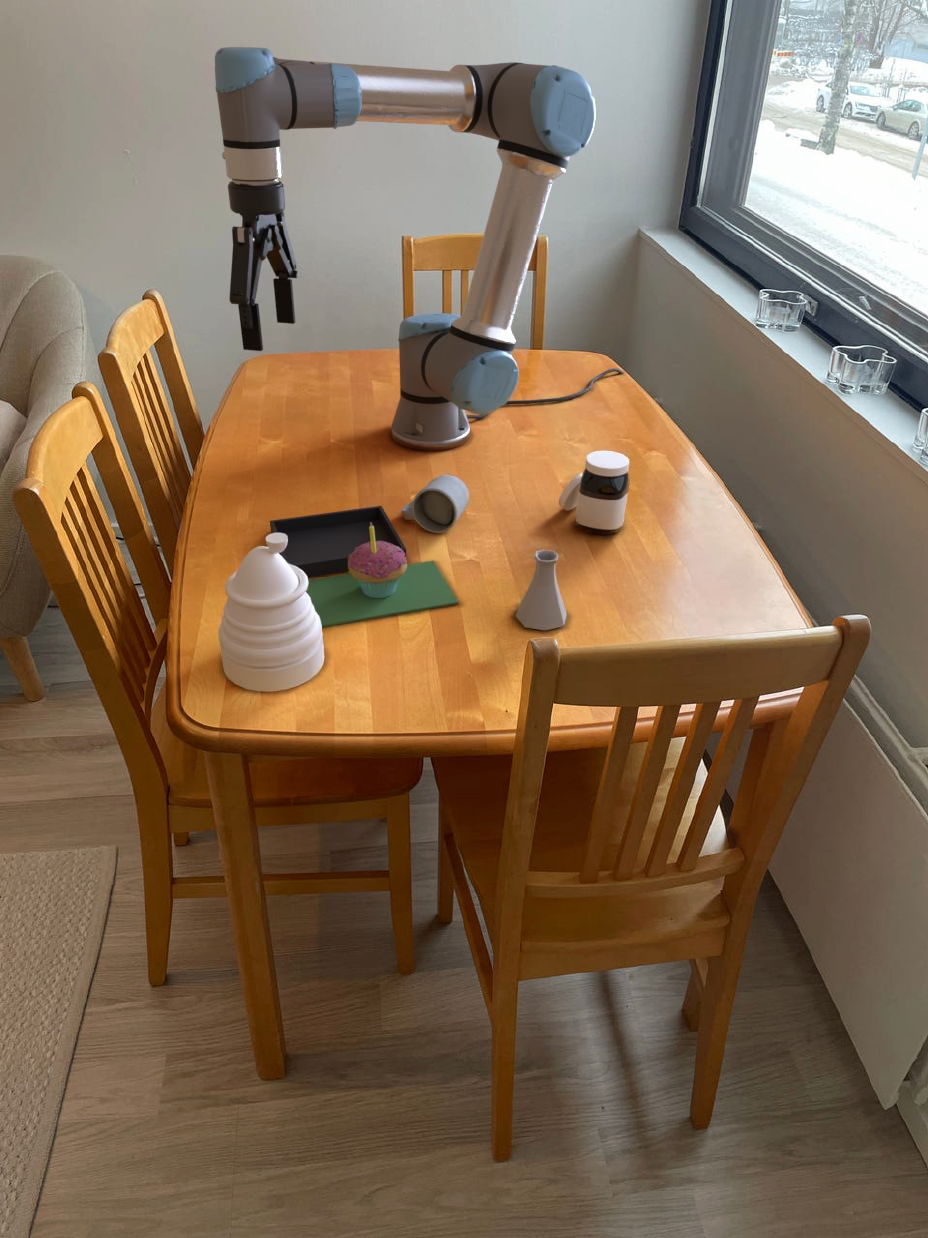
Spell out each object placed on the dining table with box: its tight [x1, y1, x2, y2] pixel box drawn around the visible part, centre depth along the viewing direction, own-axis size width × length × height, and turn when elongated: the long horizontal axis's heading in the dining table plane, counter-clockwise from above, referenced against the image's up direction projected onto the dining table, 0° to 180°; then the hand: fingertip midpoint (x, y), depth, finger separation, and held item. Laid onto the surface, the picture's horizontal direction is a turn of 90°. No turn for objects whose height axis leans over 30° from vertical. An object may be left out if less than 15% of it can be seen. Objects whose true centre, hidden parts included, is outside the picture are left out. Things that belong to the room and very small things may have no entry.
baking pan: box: [269, 505, 407, 579], centre depth 141 cm, size 18×15×2 cm
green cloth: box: [306, 560, 459, 628], centre depth 131 cm, size 20×12×1 cm, turn 109°
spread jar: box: [558, 450, 631, 536], centre depth 148 cm, size 12×11×12 cm
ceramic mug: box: [401, 474, 470, 534], centre depth 148 cm, size 11×8×8 cm
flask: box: [515, 549, 568, 631], centre depth 125 cm, size 7×7×10 cm
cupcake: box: [348, 522, 409, 598], centre depth 128 cm, size 9×8×12 cm
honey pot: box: [218, 533, 325, 693], centre depth 113 cm, size 13×13×18 cm
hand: (270, 335), depth 137 cm, fingers open, 13 cm apart
